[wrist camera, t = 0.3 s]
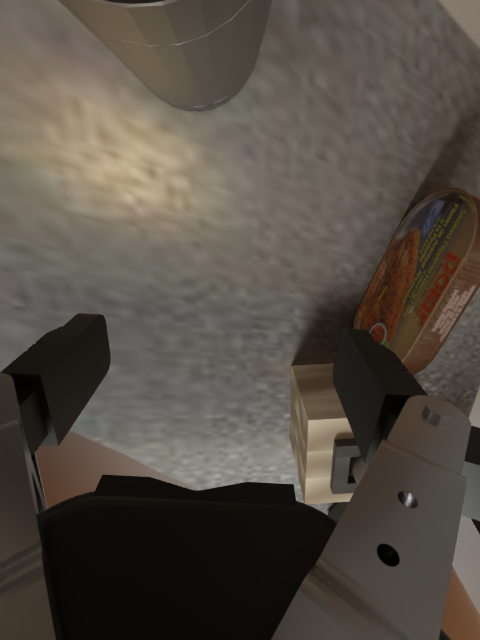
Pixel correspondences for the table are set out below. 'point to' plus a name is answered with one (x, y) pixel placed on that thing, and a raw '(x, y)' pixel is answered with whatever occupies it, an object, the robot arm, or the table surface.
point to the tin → (425, 278)
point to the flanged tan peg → (459, 613)
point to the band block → (321, 436)
